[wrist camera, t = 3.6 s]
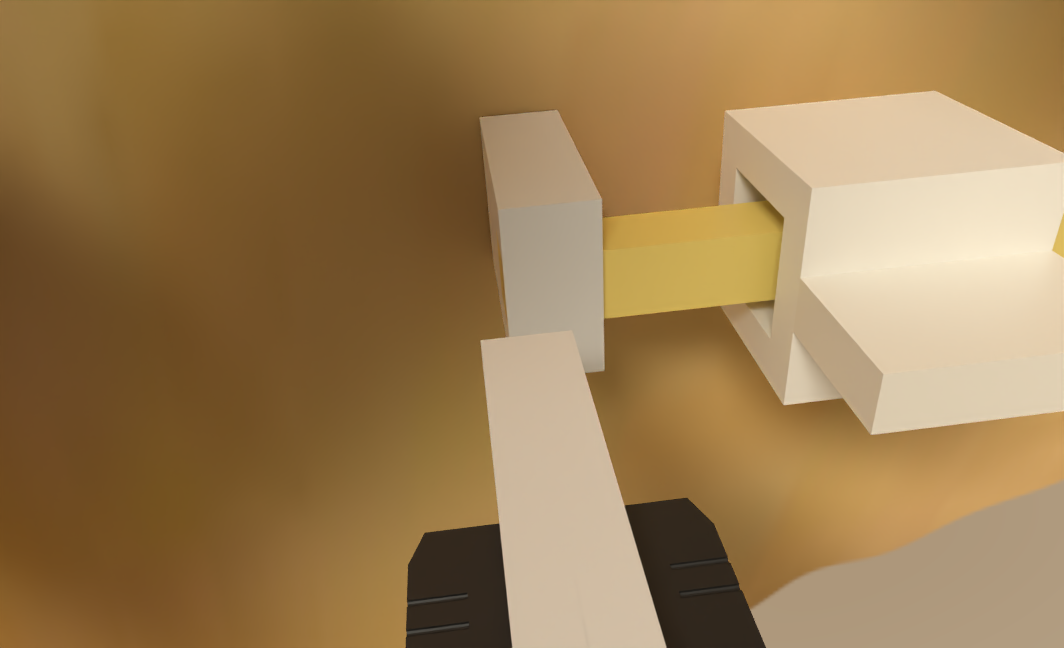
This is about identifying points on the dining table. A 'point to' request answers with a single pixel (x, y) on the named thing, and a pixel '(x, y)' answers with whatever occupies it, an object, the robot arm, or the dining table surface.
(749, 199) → the sleeve
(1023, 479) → the dining table surface
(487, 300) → the dining table surface
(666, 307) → the rail
